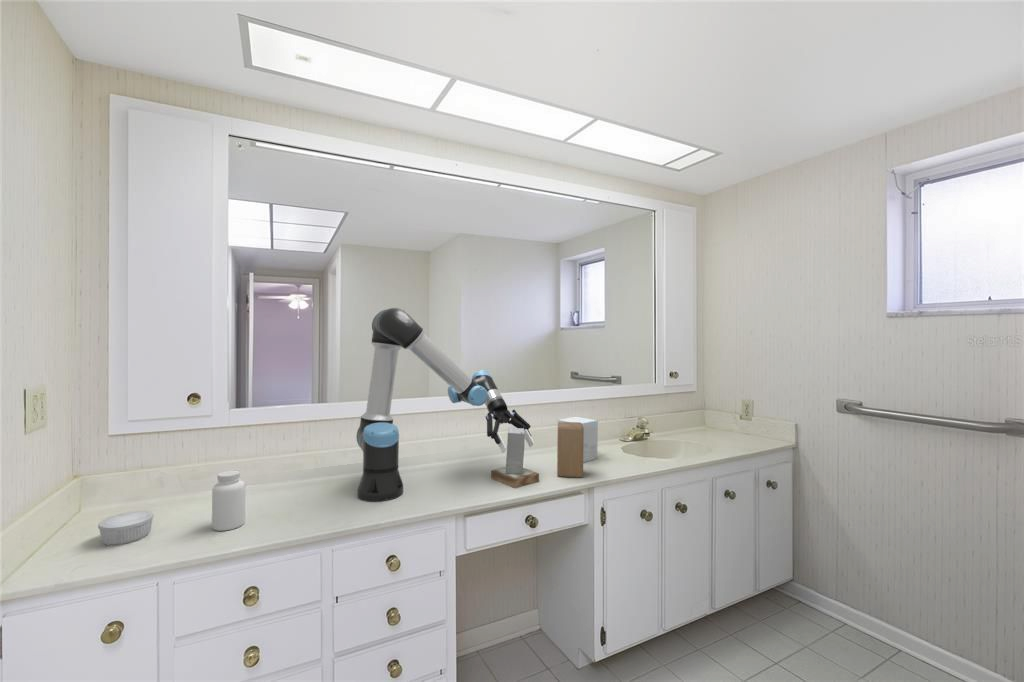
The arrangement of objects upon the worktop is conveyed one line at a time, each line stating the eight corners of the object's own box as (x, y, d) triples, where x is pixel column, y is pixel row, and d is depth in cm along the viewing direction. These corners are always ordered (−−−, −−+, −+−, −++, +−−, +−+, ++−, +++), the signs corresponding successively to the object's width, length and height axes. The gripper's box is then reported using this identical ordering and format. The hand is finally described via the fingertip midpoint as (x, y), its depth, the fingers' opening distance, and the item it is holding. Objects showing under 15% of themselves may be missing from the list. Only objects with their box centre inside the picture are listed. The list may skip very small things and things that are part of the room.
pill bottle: (208, 533, 119) (209, 478, 119) (215, 522, 127) (215, 470, 127) (242, 529, 122) (243, 475, 122) (247, 518, 130) (247, 467, 130)
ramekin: (132, 547, 112) (132, 526, 112) (85, 548, 111) (85, 527, 111) (164, 528, 123) (164, 509, 123) (121, 529, 122) (121, 510, 122)
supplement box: (575, 453, 208) (575, 416, 208) (598, 458, 199) (598, 420, 199) (556, 457, 199) (556, 419, 199) (579, 464, 190) (579, 423, 190)
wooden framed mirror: (514, 488, 158) (514, 478, 158) (491, 478, 169) (491, 469, 169) (538, 481, 166) (538, 472, 166) (515, 472, 177) (515, 464, 177)
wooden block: (581, 470, 180) (582, 422, 180) (583, 478, 170) (583, 426, 170) (557, 469, 181) (557, 421, 181) (557, 477, 171) (557, 426, 171)
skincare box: (506, 467, 172) (506, 427, 172) (524, 467, 172) (524, 427, 172) (505, 474, 163) (505, 431, 163) (524, 474, 163) (525, 432, 163)
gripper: (514, 406, 187) (538, 448, 176) (465, 411, 171) (487, 458, 160) (522, 395, 183) (547, 437, 172) (473, 399, 167) (496, 446, 156)
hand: (518, 447), depth 166 cm, fingers open, 13 cm apart
